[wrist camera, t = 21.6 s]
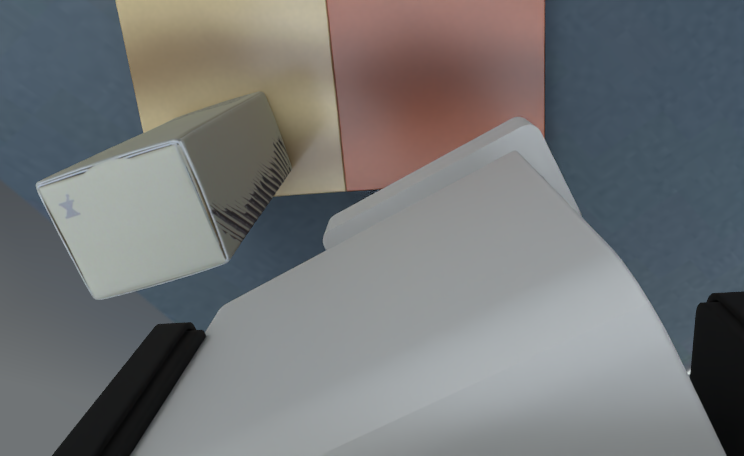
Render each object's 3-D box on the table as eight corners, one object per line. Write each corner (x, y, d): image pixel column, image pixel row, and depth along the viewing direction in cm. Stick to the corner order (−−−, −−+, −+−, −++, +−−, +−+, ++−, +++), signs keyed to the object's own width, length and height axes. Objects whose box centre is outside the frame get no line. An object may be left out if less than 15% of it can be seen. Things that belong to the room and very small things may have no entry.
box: (205, 196, 32) (84, 310, 20) (171, 115, 31) (20, 185, 19) (300, 168, 32) (233, 268, 20) (269, 84, 30) (177, 135, 18)
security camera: (263, 234, 16) (62, 551, 6) (515, 95, 14) (744, 229, 5) (386, 422, 17) (374, 903, 8) (623, 312, 16) (953, 729, 7)
